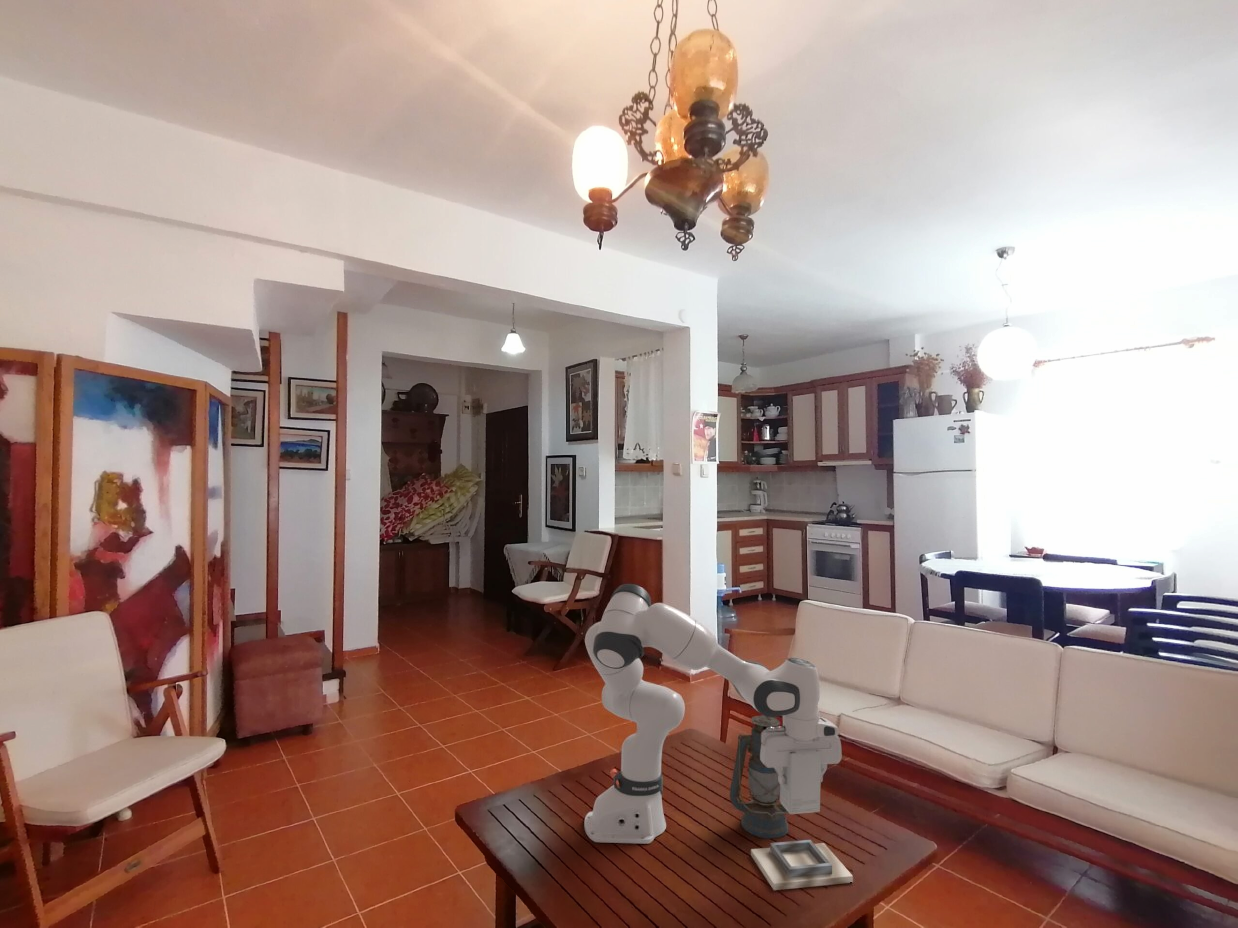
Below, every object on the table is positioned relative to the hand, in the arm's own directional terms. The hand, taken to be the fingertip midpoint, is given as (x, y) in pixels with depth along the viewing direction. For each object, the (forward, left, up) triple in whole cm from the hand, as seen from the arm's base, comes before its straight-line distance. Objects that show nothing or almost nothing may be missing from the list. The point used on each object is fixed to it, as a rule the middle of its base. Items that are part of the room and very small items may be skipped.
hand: (800, 781), depth 155 cm
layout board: (0, 0, -21) cm, 21 cm away
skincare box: (0, 0, -6) cm, 7 cm away
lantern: (-1, +19, -21) cm, 28 cm away
